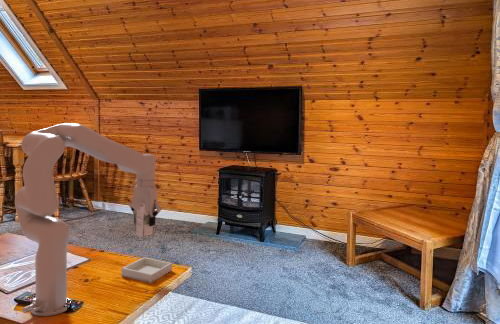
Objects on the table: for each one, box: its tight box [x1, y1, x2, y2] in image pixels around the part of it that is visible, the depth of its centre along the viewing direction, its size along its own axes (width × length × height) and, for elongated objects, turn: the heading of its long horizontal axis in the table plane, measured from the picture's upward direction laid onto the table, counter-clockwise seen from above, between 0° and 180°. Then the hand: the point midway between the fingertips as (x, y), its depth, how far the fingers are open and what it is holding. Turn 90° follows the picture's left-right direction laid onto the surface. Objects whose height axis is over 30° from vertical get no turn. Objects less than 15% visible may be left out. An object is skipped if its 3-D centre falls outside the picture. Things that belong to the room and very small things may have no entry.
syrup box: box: [134, 203, 155, 238], centre depth 165 cm, size 6×6×14 cm
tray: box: [121, 256, 173, 284], centre depth 167 cm, size 15×15×4 cm
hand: (144, 224), depth 165 cm, fingers closed on syrup box, 7 cm apart
